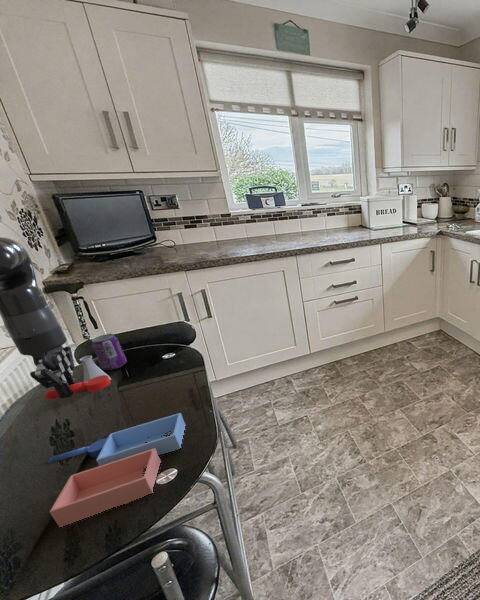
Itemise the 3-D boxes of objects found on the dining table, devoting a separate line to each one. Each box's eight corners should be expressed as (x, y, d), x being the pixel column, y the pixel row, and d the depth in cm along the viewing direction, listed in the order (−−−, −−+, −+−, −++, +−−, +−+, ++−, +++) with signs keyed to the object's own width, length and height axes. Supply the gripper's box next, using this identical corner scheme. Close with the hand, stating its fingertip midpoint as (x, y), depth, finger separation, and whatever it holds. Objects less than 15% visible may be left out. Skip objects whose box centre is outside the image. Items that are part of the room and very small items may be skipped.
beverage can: (131, 360, 124) (119, 331, 120) (120, 370, 118) (107, 340, 113) (111, 362, 123) (98, 334, 119) (98, 373, 117) (84, 343, 112)
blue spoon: (45, 473, 75) (41, 466, 74) (55, 459, 79) (50, 452, 78) (109, 453, 80) (105, 446, 79) (115, 441, 83) (111, 434, 83)
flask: (91, 391, 106) (78, 365, 102) (78, 388, 108) (65, 362, 105) (116, 378, 112) (104, 353, 108) (103, 375, 115) (92, 351, 111)
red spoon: (43, 405, 75) (38, 397, 74) (52, 394, 78) (48, 387, 78) (107, 388, 79) (104, 380, 79) (113, 379, 83) (109, 371, 82)
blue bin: (104, 475, 73) (96, 460, 72) (117, 448, 81) (109, 433, 79) (180, 449, 79) (174, 435, 77) (186, 426, 87) (180, 412, 85)
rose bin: (60, 528, 62) (49, 512, 61) (79, 490, 70) (70, 475, 68) (153, 494, 68) (145, 478, 66) (161, 462, 75) (155, 447, 74)
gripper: (28, 322, 76) (62, 384, 83) (-8, 346, 65) (34, 416, 71) (70, 314, 79) (99, 374, 85) (42, 336, 67) (78, 404, 74)
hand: (69, 393), depth 78 cm, fingers closed on red spoon, 2 cm apart
